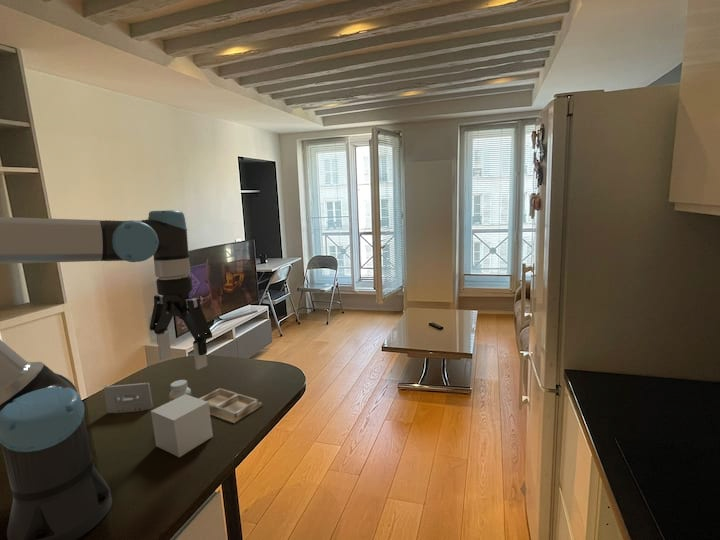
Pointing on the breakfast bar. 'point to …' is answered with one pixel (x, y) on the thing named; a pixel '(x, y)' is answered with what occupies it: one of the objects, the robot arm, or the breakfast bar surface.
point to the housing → (182, 424)
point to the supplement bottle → (179, 389)
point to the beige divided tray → (230, 404)
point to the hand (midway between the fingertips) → (183, 362)
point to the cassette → (122, 404)
